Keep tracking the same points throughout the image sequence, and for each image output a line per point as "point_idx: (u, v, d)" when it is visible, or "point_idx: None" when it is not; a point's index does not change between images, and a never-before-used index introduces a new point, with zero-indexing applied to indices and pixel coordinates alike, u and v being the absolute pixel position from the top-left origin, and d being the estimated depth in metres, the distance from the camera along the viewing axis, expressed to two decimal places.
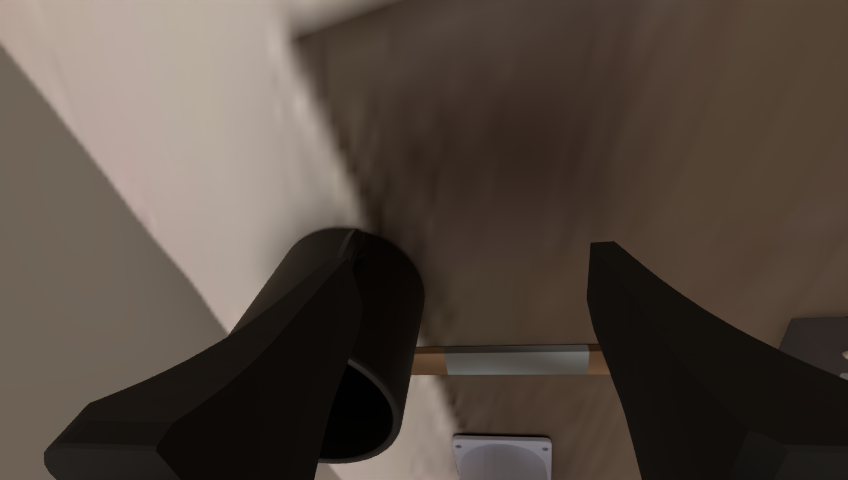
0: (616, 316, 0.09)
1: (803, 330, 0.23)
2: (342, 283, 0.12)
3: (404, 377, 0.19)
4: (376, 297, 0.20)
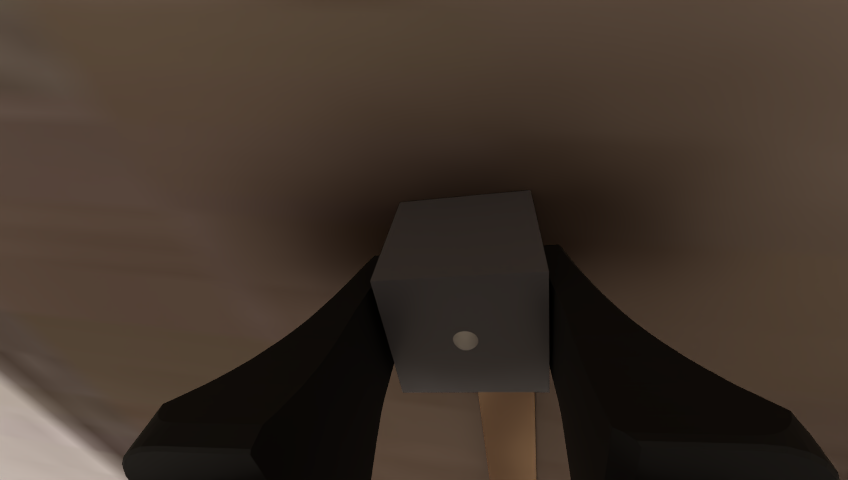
0: (551, 318, 0.10)
1: None
2: None
3: None
4: None
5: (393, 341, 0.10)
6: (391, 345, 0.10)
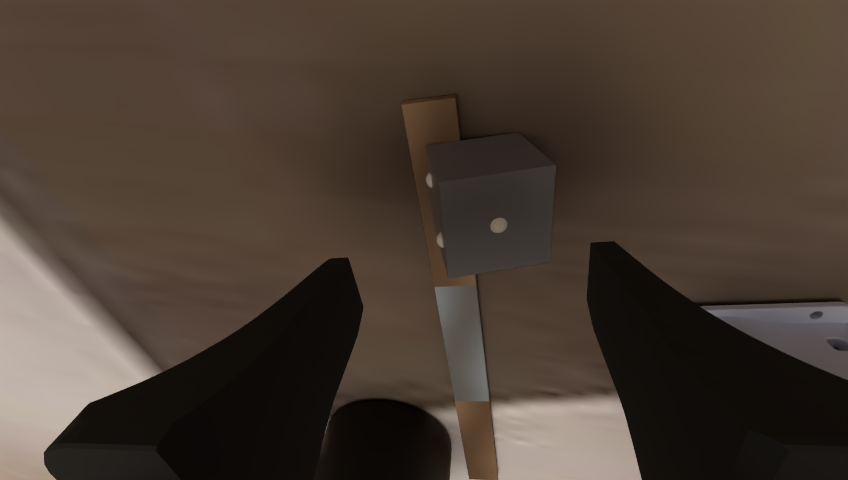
0: (616, 316, 0.09)
1: None
2: (342, 283, 0.12)
3: None
4: None
5: (448, 232, 0.14)
6: (446, 236, 0.14)
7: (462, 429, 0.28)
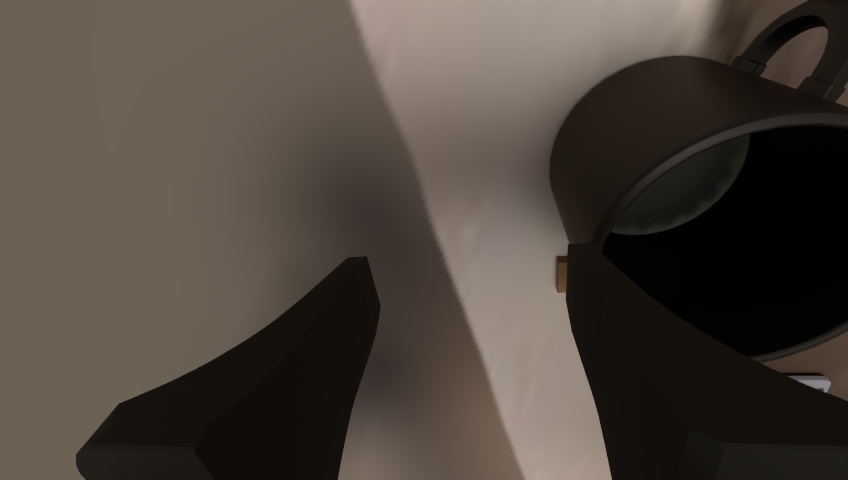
0: (589, 317, 0.09)
1: None
2: (362, 282, 0.12)
3: None
4: None
5: None
6: None
7: None
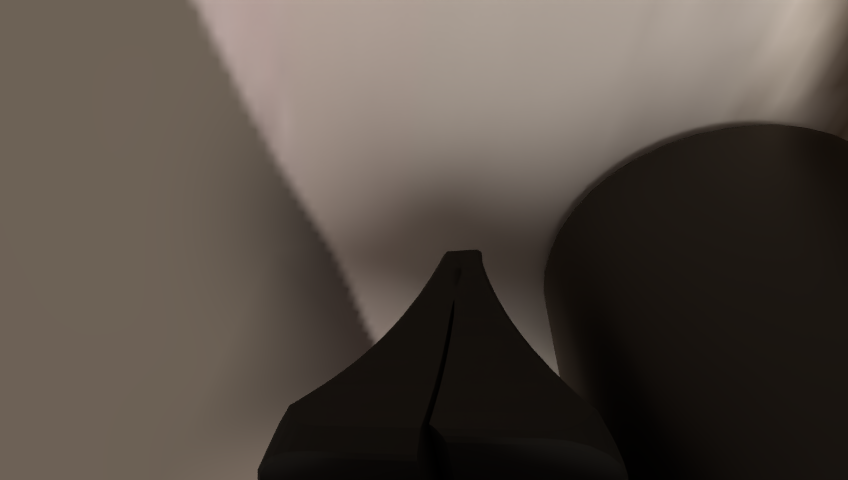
0: None
1: None
2: None
3: None
4: None
5: None
6: None
7: None
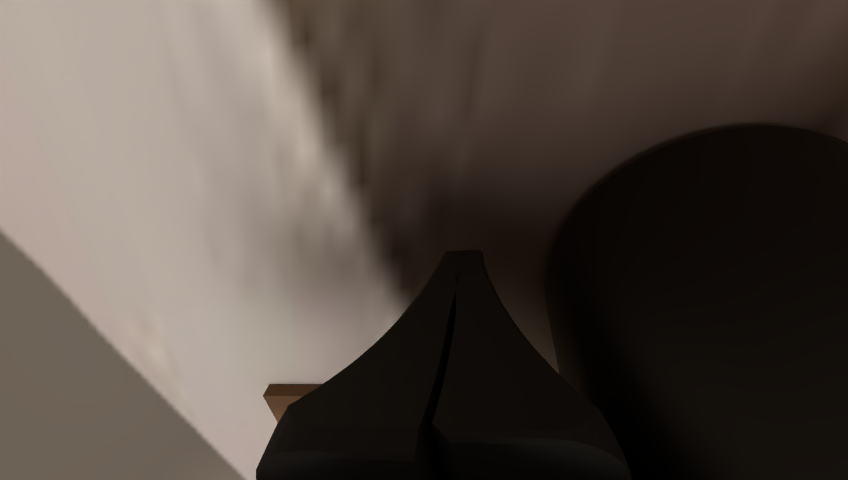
0: None
1: None
2: None
3: None
4: None
5: None
6: None
7: None
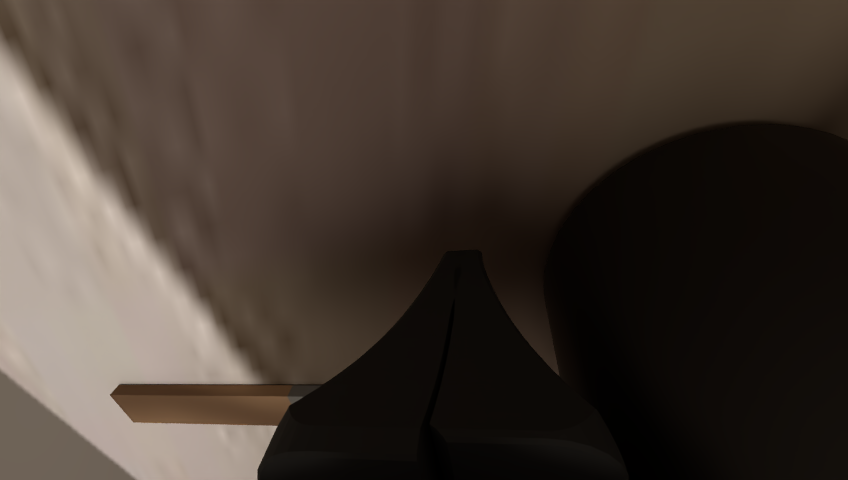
0: None
1: None
2: None
3: None
4: None
5: None
6: None
7: (226, 398, 0.19)
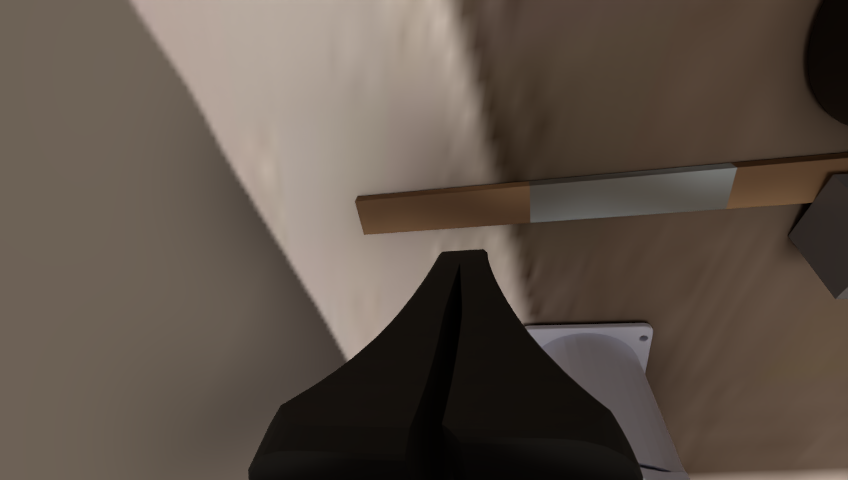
0: None
1: None
2: None
3: None
4: None
5: None
6: None
7: (469, 193, 0.21)
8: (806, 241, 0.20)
